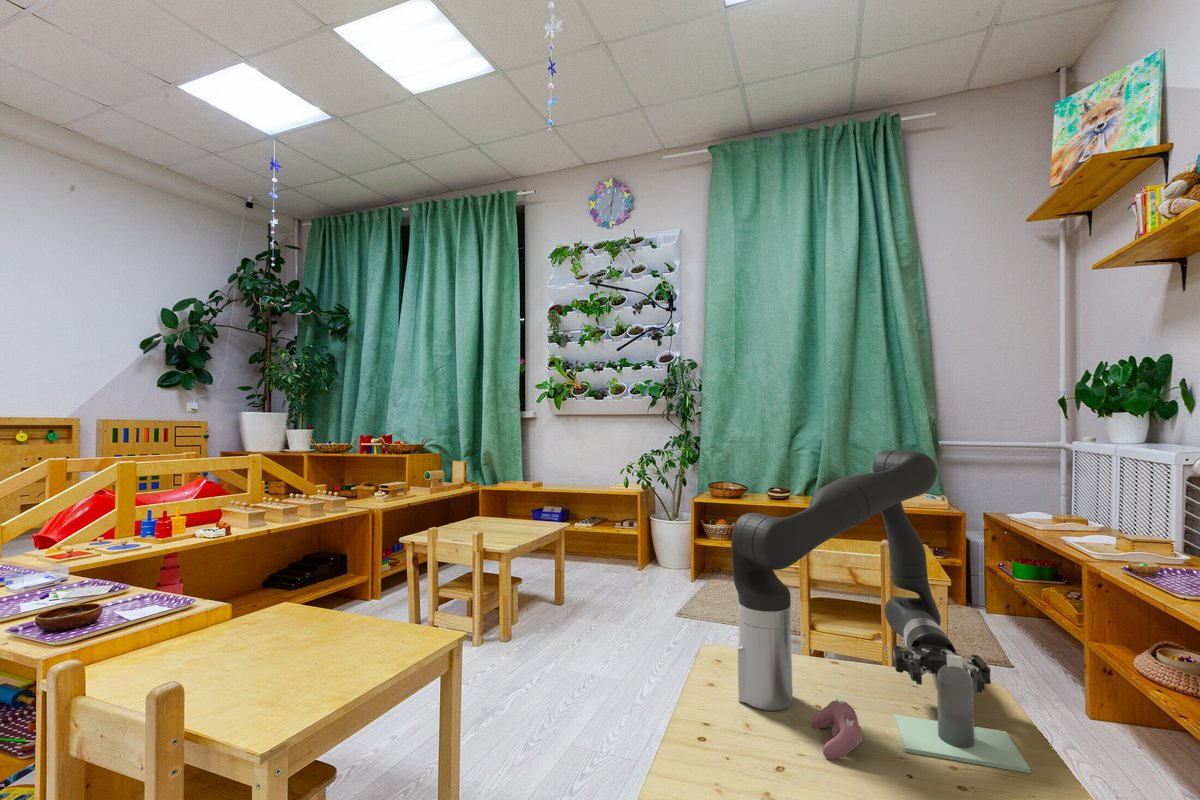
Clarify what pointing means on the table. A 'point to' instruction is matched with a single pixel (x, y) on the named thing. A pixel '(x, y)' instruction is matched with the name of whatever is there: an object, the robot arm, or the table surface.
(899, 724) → the mat
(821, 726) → the mauve curved piece
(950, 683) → the grey bottle
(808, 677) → the table surface
